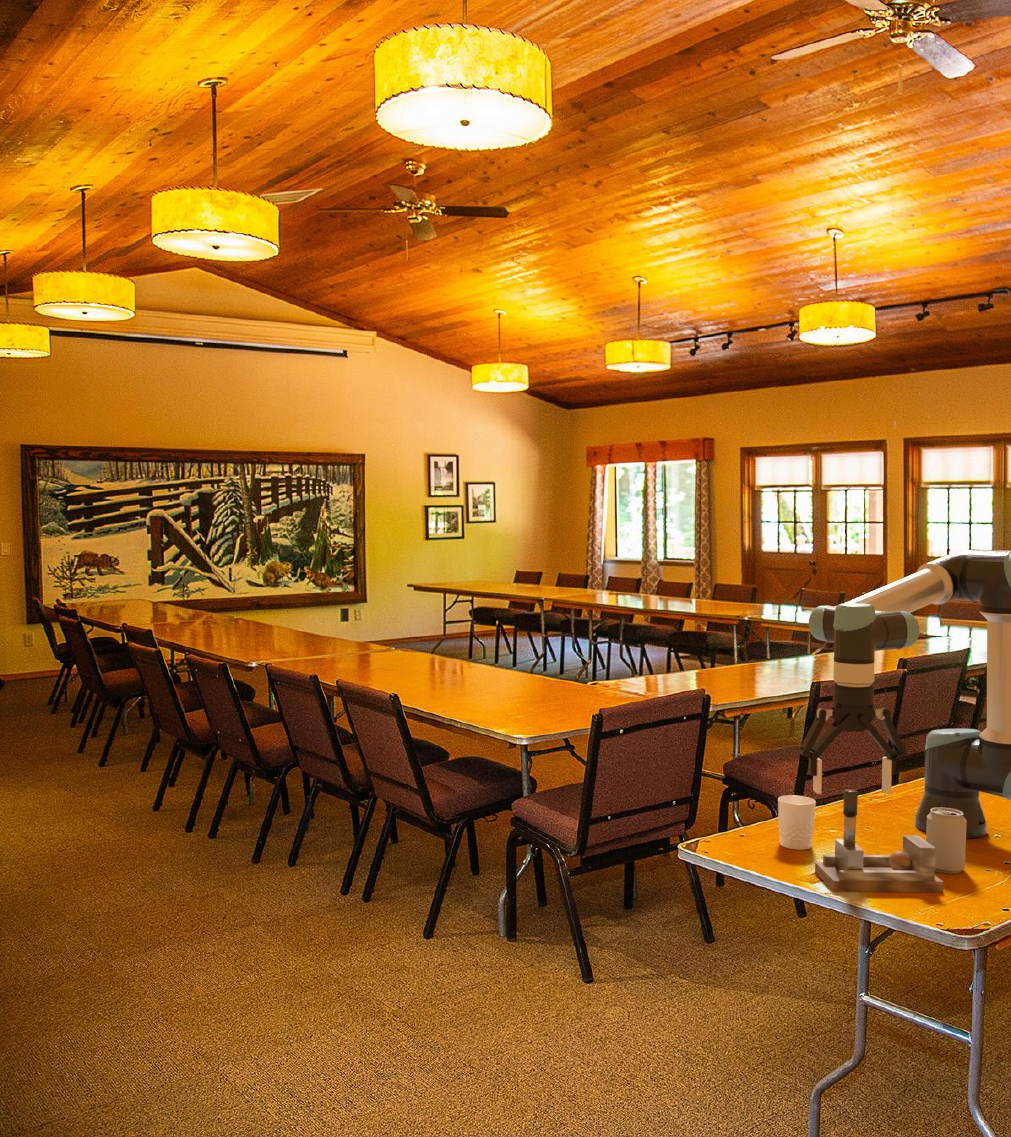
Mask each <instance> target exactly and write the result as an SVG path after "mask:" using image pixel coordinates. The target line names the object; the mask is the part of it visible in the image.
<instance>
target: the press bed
mask: <svg viewBox="0 0 1011 1137" xmlns="http://www.w3.org/2000/svg"><path fill="white" fill-rule="evenodd" d="M902 852H904V853H906V854H907V855H908V856H909V858H910V861H911V865H910V867H909V869H908V870H907V871H901V870H893V869H892V868H891V867H890V865H889V857H890V855H891V854H885V855H884V854H879V855H878V854H864V859H863V870H840V869H839V868H838V867H837V866H836V865H835V854H823V855H822V856H823V857H822V861H816V862H814V873H815V874H817V876H818V877H819V878H820V879H821V880H822V881H823V882H824V883H825V884H826V885H827V886H828V887H829V888H830V889H831V890H832V891H833V892H853V893H854V892H857V893H858V892H861V893H863V892H864V893H865V892H867V893H868V892H869V893H870V892H874V893H877V892H878V893H879V892H880V893H881V892H883V893H897V892H899V893H909V892H910V893H914V892H915V893H943V892H944V881H943V880H942V879H941V878H939V877H938V876H937V875H936V871H935V854H936V848H935V847H934V846H932V845H931V844H929V843H928V842H926V839H923V838H922V837H921V836H919V835H905V834H904V835H902Z"/></svg>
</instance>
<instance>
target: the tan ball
mask: <svg viewBox="0 0 1011 1137" xmlns="http://www.w3.org/2000/svg"><path fill="white" fill-rule="evenodd" d="M889 855H890V857H889V865H890V867H891V868H892V869H893V870H901V871H907V870H908V869H909V867H910V865H911V861H910V858H909V856H908V855H907V854H906V853H904V852H903V850H902V851H901V850H900V851H899V850H896V851H894V852H892V853H891V854H889Z"/></svg>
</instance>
